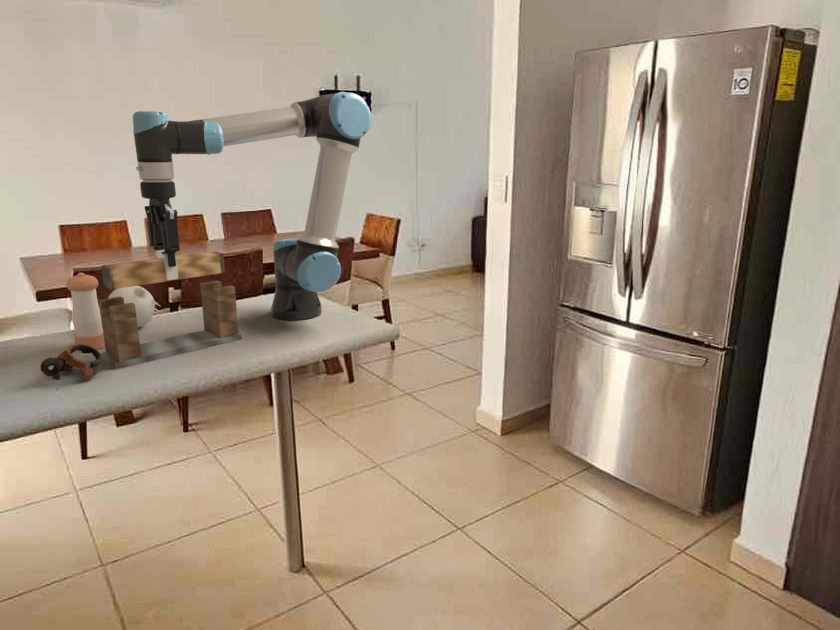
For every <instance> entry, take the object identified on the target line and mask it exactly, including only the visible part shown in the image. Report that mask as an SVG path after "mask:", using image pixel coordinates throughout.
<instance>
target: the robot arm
mask: <svg viewBox="0 0 840 630" xmlns="http://www.w3.org/2000/svg"><path fill="white" fill-rule="evenodd" d="M371 124H372V113H371V110H370V107H369V106H368V103H367V102H366V101H365V100H364V99H363V98H362V97H361V96H360V95H358V94H357V93H354V92H345V91H340V92H337V93H328V94H327V93H326V94H322V95H319V96H316V97H313V98H310V99H305V100H302V101H295V102H292V103H291V104H290V106H288V107H287V106H286V107H280V108H273V109H267V110H259V111H251V112H245V113H238V114H229V115H223V116H216V117H209V118H208V117H207V118H202V119H195V120H186V121H185V120H184V121H182V120H181V121H178V120H177V121H175V120H170V119H169V118H168V114H167V112H165V111H148V110H147V111H146V110H142V111H141V110H139V111H135V112H133V114H132V127H133V132H132V133H133V138H134V146H135V147H134V148H135V153H136V159H137V165H138V166H136V171H138V176H139V177H138V178H139V179H140V180H141V182H140V183H139V187H140V194H141V197H142V198H143V199H147V200H149V201H148V202H149V203H148V205H145V206H144V211H145V215H146V222H147V227H148V234H149V235H148V238H149V243H150V246H151V247H153V250H154V251H155V252H154V253H155V259H159V258H164V266H165V274H166V280H167V281H166V282H169V281H168V280H172V281H175V280H174V279H178V270H177V261H176V256H177V255H176V254H177V252H180V250H181V248H180V239H179V229H178V210H177V209H173V207H172V204H171V202H170V201H171V200H170V199H172V198H175V197H176V196H177V195H176V194H177V192H176V183H175V182H174V181H173V180H174V179H175V172H174V171H175V170H174V163H173V162H174V161H173V155H207V156H210V155H216V154H221V153H222V151H223V149H224V147H230V146H235V145H243V144H246V143H247V144H248V143H254V142H260V141H266V140H272V139H279V138H284V137H285V138H286V137H291V136H292V137H293V136H296V137H297V138H300V139H302V138H312V137H313V138H314V137H315V138H316V141H317V143H318V144H319V146H320V148H319V153H318V159H317V164H316V170H315V174H314V178H313V180H314V181H313V186H312V191H311V195H310V201H309V207H308V211H307V216H306V217H307V218H306V222H305V228H304V232H303V233H302V235H301V234H300V236H298V237H295V238H286V239H277V240H275V241H274V243H273V251H272V254H273V265H274V279H275V291H274V292H275V293H274V296H273V300H272V302H271V303H272V304H271V307H270V309H271V310H270V311H271V316H272V317H273V318H275V319H279V320H286V321H287V320H288V321H299V320H300V321H301V320H308V319H313V318H315V316H316V317H318V316H320V315H322V313H321V312H322V310H323V309H322V303H321V301H320V298H319V296H318V295H319V294H318V293H323V292H327V291H328V290H330V289H331V288H333V287H334V286H335V285H336V284H337V282H338V281H339V280H340V277H341V274H342V267H341V263H340V261H339V259H338V252H339V247H340V245H338V243H337V242H336V235H337V231H338V230H337V229H338V225H339V220H340V214H341V211H342V210H341V209H342V205H343V199H344V195H345V189H346V185H347V180H348V175H349V174H348V173H349V169H350V165H351V160H352V159H351V158H352V155H353V154H354V153H356V152H357V151H358V150H359V149H360V145H361V144H360V143H361V138H362V137H364V136H365V135H366V134H367V133H368V131H370V128H371ZM319 314H320V315H319ZM312 317H313V318H312Z"/></svg>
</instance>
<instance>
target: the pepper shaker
mask: <svg viewBox="0 0 840 630" xmlns="http://www.w3.org/2000/svg"><path fill="white" fill-rule="evenodd" d="M65 286H66V288H67V289H68V291H70V293H71V301H72V322H73V323H72V324H73V329H74V335H73V338H74V339H73V340H74V345H79V344H81V345H87V346H90V347H93V348H95V349H96V350H99V349H102V348H105V342H104V335H103V328H102V322H101V315H100V308H99V302H98V295H97V290H96V289H97V288H98V286H99V280H98V279H97V278H96V277H95V276H92V275H90V274H85V273H84V272H78V273H77V275H74V276H72V277H70V278H68V279H67V281H66V283H65Z"/></svg>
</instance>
